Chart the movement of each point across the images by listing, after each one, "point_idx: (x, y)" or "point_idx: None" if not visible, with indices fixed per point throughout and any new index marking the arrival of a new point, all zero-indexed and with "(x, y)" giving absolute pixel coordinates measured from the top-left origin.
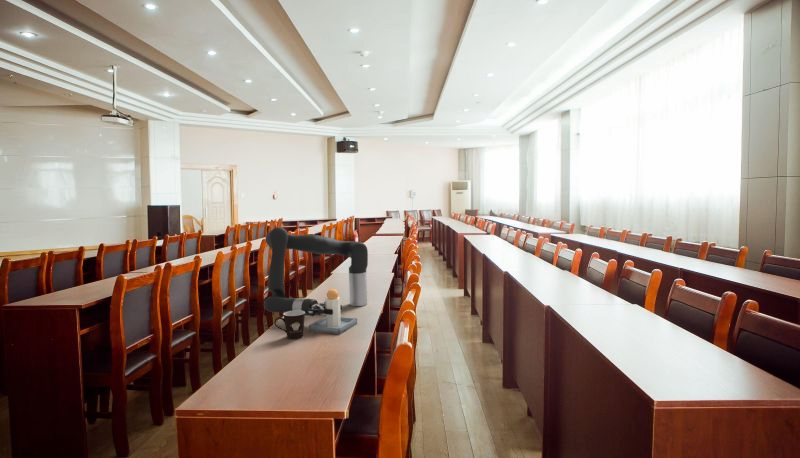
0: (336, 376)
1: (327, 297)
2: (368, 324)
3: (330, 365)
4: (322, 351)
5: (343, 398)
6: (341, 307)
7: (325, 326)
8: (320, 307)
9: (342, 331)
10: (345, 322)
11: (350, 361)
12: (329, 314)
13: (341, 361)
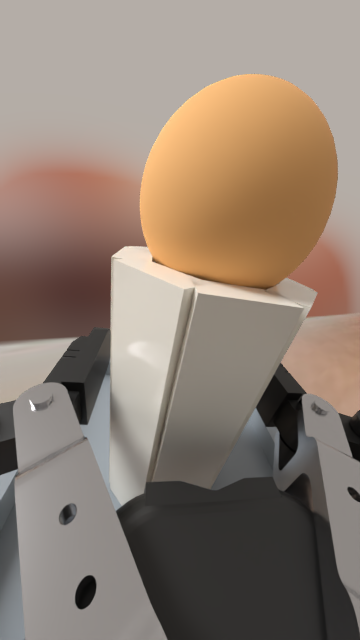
0: (350, 326)
1: (294, 269)
2: None
3: (350, 338)
4: (350, 370)
5: (356, 314)
6: (110, 341)
7: (273, 438)
8: (352, 457)
9: None
10: (93, 410)
11: (310, 324)
12: None
13: (324, 332)
